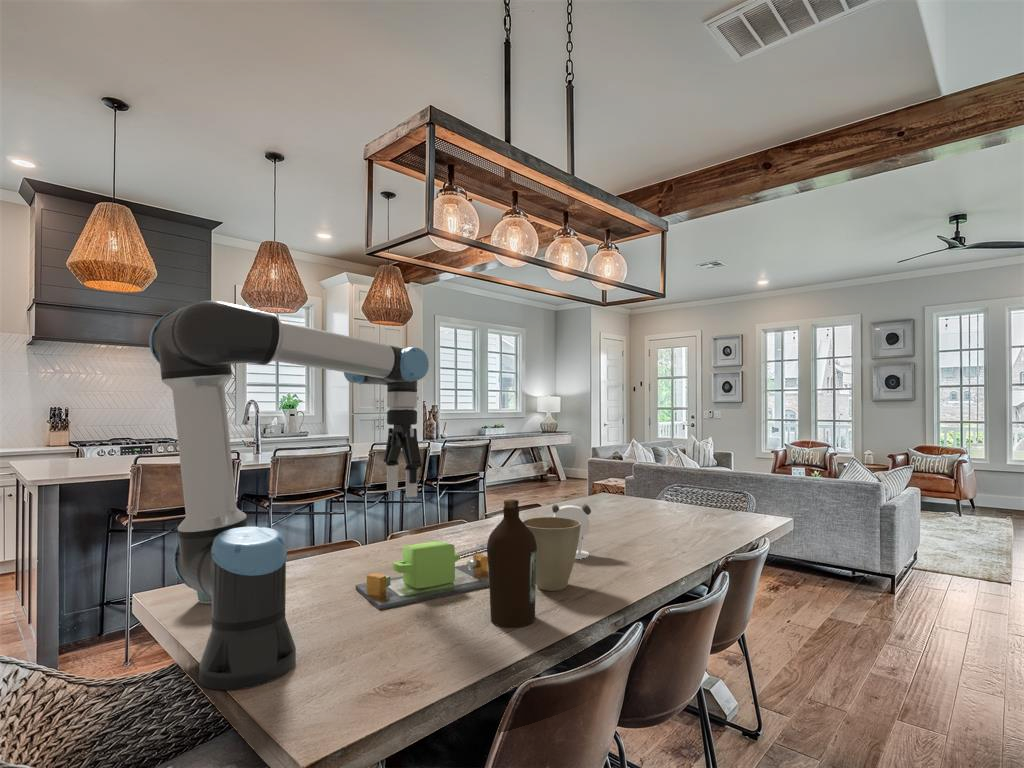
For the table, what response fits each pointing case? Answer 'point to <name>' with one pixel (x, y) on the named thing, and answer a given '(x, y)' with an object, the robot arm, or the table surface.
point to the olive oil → (512, 570)
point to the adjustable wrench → (474, 549)
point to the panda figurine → (580, 516)
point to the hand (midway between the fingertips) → (401, 493)
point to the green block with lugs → (427, 564)
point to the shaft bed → (399, 593)
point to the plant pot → (554, 550)
